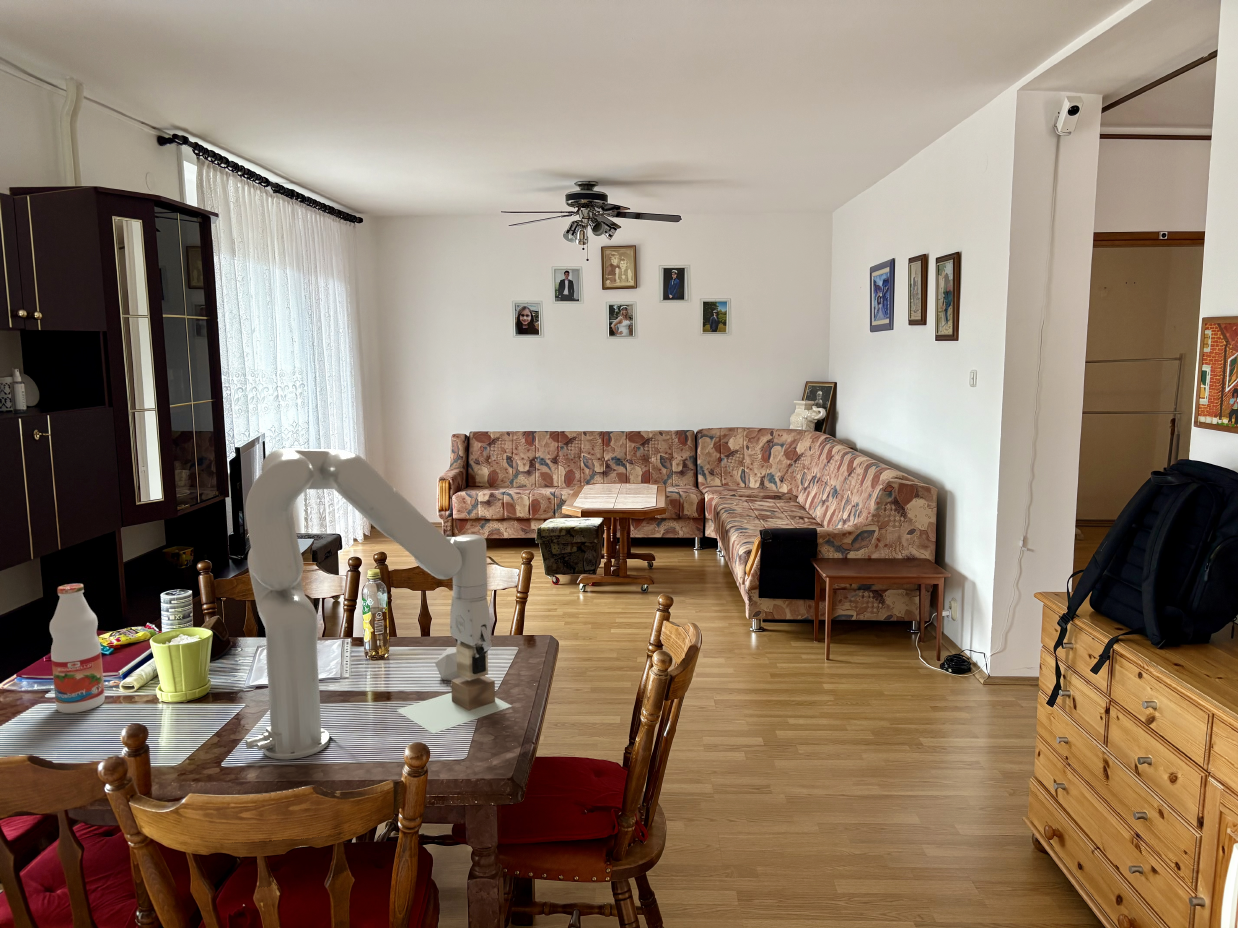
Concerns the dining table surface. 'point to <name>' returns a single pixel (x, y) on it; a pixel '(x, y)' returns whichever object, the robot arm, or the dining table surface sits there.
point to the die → (448, 665)
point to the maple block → (467, 661)
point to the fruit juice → (76, 653)
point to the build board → (446, 712)
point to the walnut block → (473, 692)
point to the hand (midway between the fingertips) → (472, 668)
